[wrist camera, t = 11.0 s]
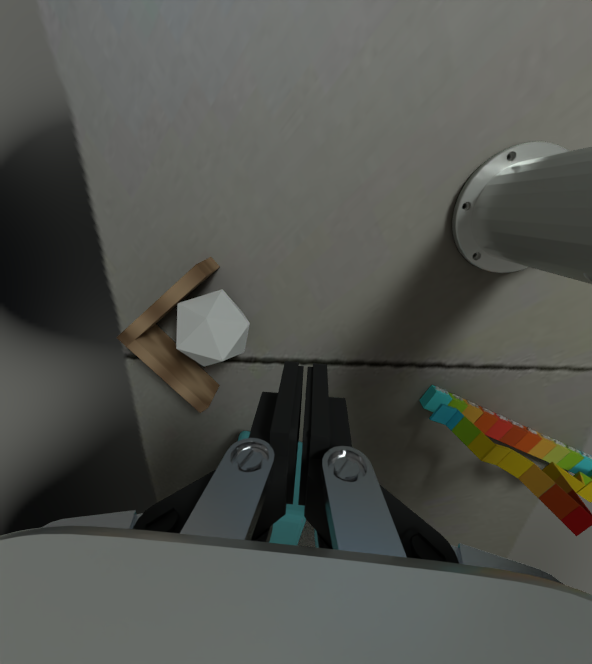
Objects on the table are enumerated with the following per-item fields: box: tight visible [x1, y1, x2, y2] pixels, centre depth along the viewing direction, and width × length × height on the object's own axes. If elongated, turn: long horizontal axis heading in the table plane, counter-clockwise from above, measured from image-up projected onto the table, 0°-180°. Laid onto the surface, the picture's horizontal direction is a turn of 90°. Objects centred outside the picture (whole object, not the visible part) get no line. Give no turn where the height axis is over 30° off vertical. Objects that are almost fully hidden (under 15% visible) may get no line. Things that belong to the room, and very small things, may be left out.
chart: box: [419, 385, 592, 536], centre depth 36 cm, size 30×3×15 cm, turn 65°
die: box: [176, 290, 250, 366], centre depth 34 cm, size 8×9×10 cm
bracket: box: [117, 257, 220, 413], centre depth 36 cm, size 11×19×5 cm, turn 174°
